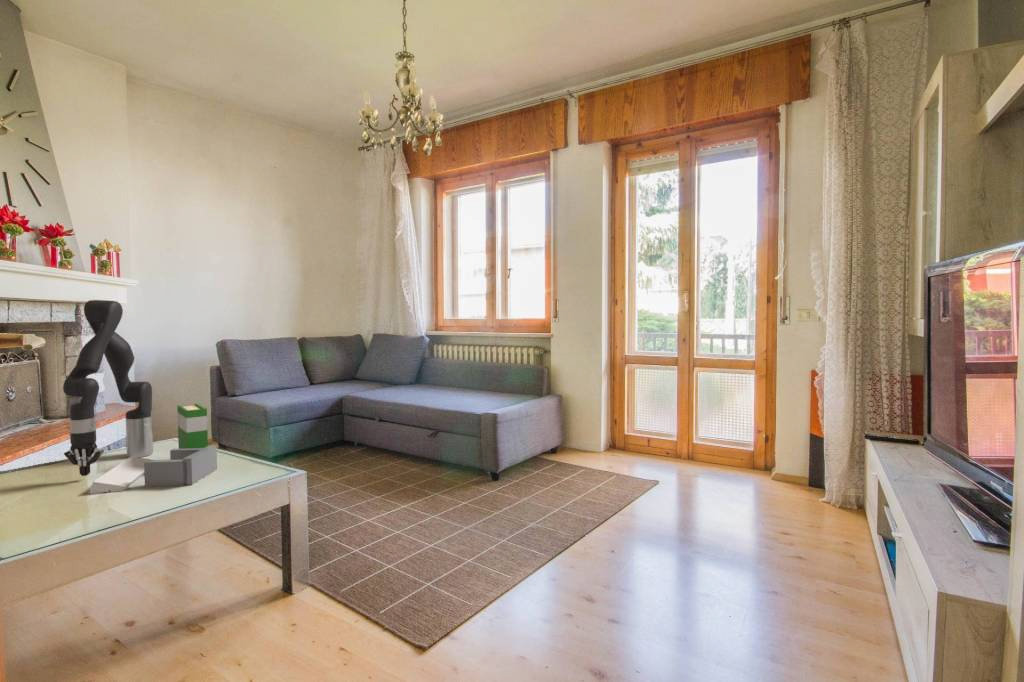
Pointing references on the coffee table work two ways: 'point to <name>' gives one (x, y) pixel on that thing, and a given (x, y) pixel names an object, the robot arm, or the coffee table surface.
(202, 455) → the end cap
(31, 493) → the coffee table surface
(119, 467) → the decorative molding
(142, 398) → the robot arm
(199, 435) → the hardback book
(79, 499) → the coffee table surface
